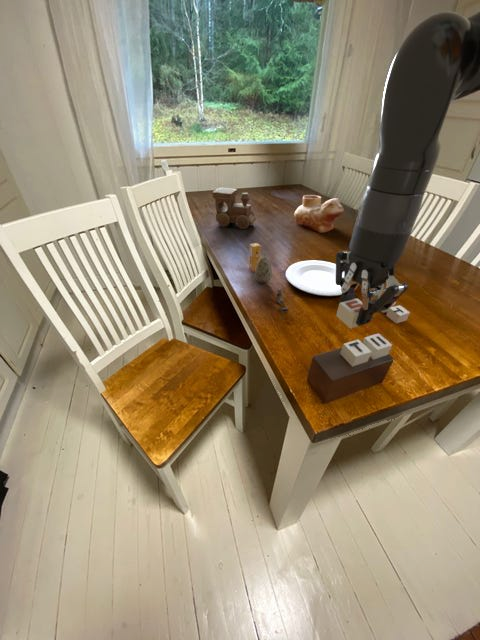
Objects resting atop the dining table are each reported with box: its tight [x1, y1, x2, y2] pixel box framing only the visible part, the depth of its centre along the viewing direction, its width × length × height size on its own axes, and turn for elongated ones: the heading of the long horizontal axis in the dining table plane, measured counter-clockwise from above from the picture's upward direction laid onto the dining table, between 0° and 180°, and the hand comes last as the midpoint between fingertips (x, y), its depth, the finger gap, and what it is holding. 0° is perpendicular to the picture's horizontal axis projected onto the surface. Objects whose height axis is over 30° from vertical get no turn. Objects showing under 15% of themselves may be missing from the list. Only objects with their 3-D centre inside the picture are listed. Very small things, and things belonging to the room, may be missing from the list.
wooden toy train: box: [212, 187, 257, 230], centre depth 138 cm, size 20×11×17 cm, turn 72°
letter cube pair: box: [381, 301, 411, 324], centre depth 83 cm, size 10×4×3 cm, turn 21°
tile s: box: [335, 298, 363, 329], centre depth 49 cm, size 4×4×3 cm
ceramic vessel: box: [293, 194, 345, 234], centre depth 138 cm, size 14×26×15 cm, turn 41°
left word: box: [340, 332, 393, 367], centre depth 58 cm, size 4×10×3 cm, turn 111°
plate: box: [285, 259, 344, 297], centre depth 98 cm, size 25×25×2 cm
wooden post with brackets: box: [275, 288, 289, 313], centre depth 86 cm, size 2×8×4 cm, turn 11°
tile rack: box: [306, 340, 395, 405], centre depth 61 cm, size 7×16×8 cm, turn 111°
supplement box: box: [248, 242, 262, 273], centre depth 102 cm, size 3×4×10 cm
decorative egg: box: [254, 256, 273, 284], centre depth 94 cm, size 6×6×10 cm
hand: (352, 316), depth 50 cm, fingers closed on tile s, 4 cm apart
